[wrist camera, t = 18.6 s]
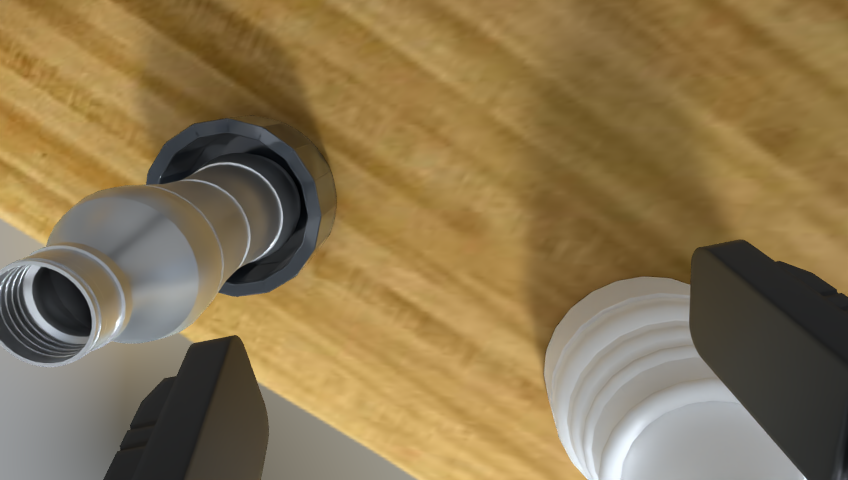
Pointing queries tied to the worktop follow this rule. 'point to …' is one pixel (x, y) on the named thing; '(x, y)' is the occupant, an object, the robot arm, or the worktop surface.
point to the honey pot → (649, 393)
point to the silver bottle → (143, 259)
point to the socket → (283, 149)
